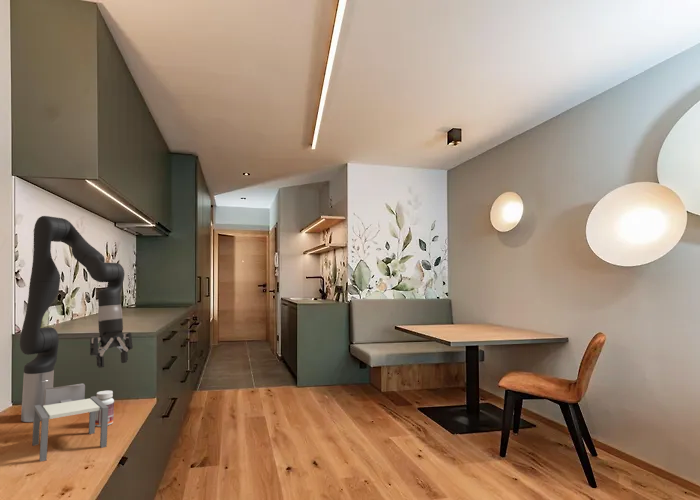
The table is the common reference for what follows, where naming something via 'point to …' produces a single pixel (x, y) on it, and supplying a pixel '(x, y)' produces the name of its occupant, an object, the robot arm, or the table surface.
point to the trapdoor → (67, 401)
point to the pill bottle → (109, 402)
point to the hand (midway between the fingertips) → (112, 365)
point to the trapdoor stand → (41, 414)
